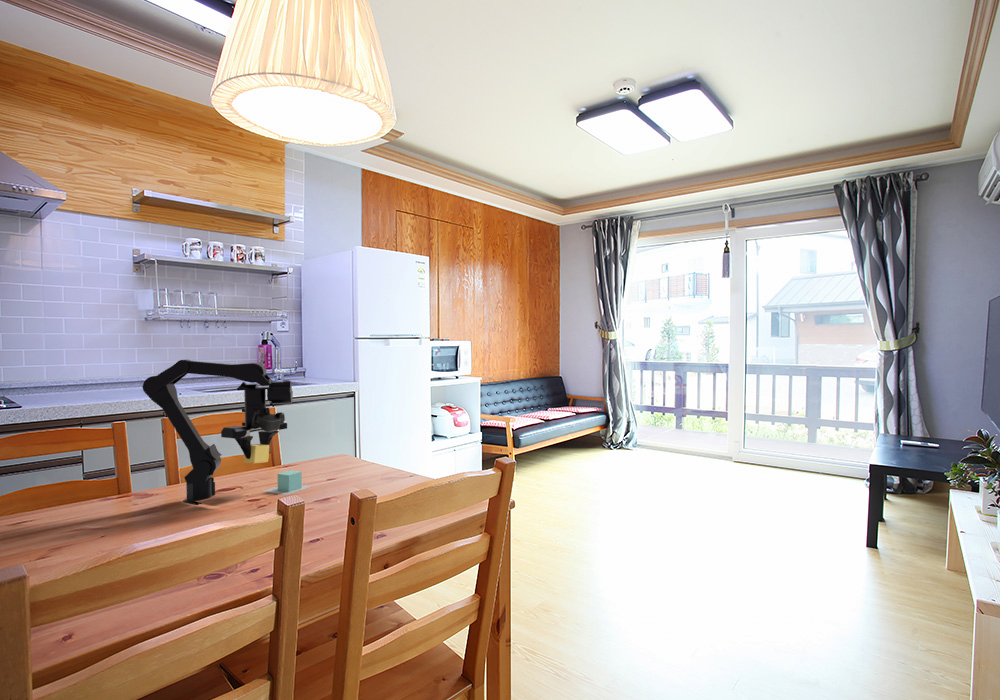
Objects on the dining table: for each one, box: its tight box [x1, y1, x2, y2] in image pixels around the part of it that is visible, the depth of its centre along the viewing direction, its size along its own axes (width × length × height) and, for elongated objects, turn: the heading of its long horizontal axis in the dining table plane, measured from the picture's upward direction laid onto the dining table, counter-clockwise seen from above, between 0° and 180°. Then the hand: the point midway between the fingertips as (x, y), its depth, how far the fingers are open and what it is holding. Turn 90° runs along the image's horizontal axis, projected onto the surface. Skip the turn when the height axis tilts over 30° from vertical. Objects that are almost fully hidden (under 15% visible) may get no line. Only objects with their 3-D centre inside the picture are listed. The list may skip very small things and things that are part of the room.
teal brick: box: [277, 469, 303, 492], centre depth 155 cm, size 5×5×5 cm
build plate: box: [263, 484, 312, 496], centre depth 156 cm, size 10×10×1 cm
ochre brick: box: [242, 443, 270, 464], centre depth 152 cm, size 5×5×5 cm
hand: (256, 456), depth 152 cm, fingers closed on ochre brick, 5 cm apart
